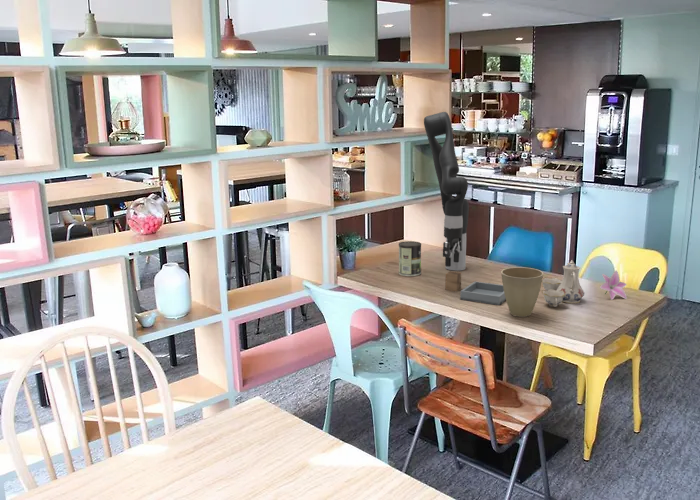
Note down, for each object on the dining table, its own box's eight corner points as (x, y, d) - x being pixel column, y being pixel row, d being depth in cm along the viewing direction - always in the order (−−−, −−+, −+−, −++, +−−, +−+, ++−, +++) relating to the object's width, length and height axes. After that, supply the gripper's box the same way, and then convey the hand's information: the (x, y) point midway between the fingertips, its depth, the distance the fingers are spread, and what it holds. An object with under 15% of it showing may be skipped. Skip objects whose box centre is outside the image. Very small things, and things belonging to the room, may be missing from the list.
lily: (593, 301, 262) (604, 284, 256) (591, 282, 271) (601, 265, 265) (622, 310, 261) (634, 293, 255) (619, 291, 271) (630, 274, 265)
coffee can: (420, 270, 307) (420, 240, 304) (421, 276, 297) (422, 245, 294) (397, 270, 307) (397, 241, 304) (399, 276, 297) (399, 246, 294)
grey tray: (474, 289, 276) (474, 281, 275) (512, 294, 268) (512, 286, 267) (460, 299, 263) (460, 290, 262) (499, 305, 255) (499, 296, 254)
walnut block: (449, 286, 280) (450, 271, 279) (460, 288, 278) (461, 272, 276) (445, 289, 276) (445, 273, 274) (456, 291, 274) (456, 275, 272)
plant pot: (503, 305, 254) (505, 265, 251) (543, 310, 249) (545, 269, 245) (496, 317, 241) (497, 275, 237) (538, 322, 235) (540, 279, 232)
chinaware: (536, 292, 276) (534, 254, 273) (578, 290, 273) (576, 251, 270) (545, 314, 249) (542, 271, 246) (591, 311, 246) (589, 268, 243)
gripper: (451, 222, 279) (450, 259, 282) (437, 227, 267) (436, 266, 270) (468, 224, 275) (467, 261, 278) (454, 229, 263) (453, 269, 267)
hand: (452, 264), depth 274 cm, fingers open, 8 cm apart
